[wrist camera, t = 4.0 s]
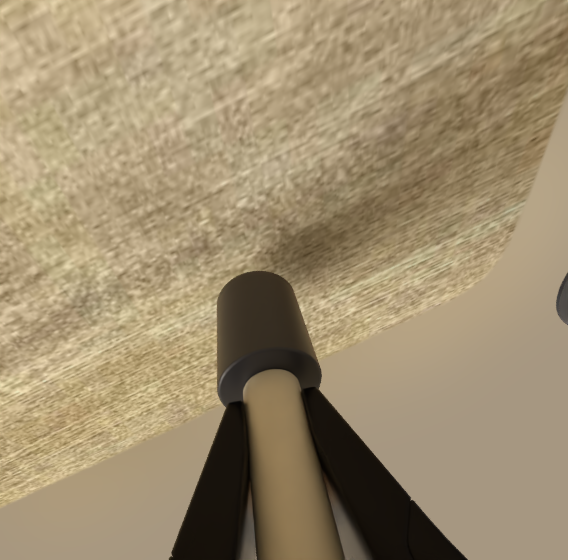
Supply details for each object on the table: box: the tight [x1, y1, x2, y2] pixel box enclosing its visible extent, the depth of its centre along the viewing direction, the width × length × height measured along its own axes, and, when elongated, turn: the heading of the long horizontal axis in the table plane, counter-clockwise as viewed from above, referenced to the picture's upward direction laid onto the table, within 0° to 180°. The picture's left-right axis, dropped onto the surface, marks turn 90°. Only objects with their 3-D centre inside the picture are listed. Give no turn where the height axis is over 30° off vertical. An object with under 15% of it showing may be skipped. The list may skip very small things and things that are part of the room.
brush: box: [217, 271, 345, 560], centre depth 8 cm, size 3×3×10 cm
